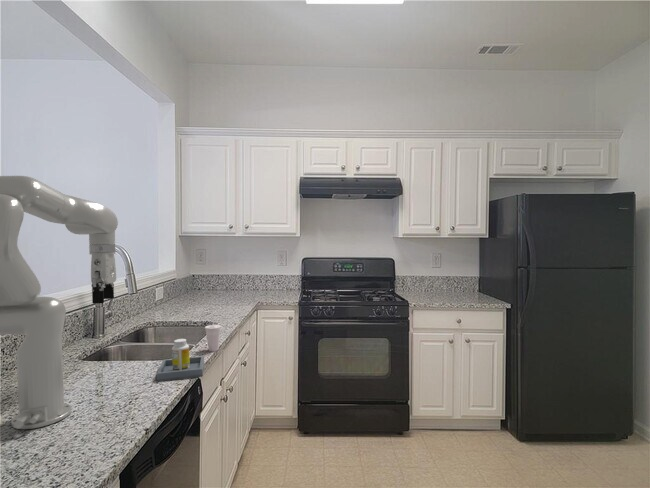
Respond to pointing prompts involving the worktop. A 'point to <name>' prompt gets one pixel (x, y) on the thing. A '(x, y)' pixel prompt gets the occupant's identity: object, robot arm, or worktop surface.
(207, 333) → the smoothie
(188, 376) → the slate tray
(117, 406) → the worktop surface
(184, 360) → the supplement bottle
